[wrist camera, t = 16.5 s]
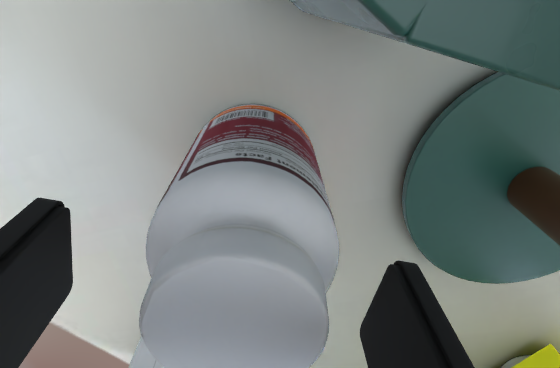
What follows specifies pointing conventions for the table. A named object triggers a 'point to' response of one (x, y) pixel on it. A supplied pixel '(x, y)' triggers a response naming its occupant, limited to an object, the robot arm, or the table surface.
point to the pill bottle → (241, 249)
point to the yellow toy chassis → (537, 359)
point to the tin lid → (489, 183)
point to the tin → (463, 30)
